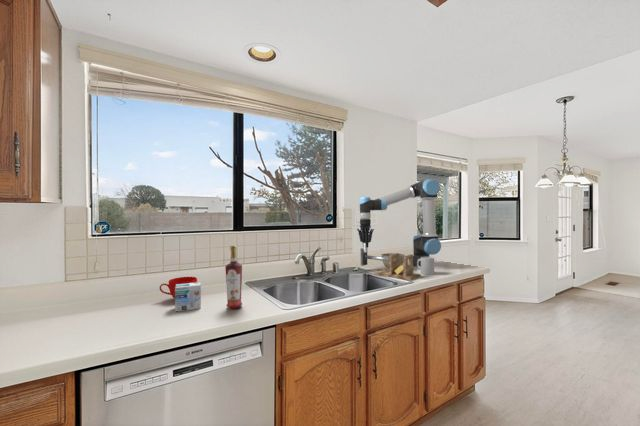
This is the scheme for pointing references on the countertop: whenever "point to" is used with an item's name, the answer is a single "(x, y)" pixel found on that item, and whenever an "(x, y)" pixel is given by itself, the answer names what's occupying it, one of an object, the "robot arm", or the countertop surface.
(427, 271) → the mug
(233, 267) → the liquor
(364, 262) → the shaft
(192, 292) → the light bulb box
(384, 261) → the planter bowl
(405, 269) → the bearing block
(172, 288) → the ceramic cup
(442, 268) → the countertop surface
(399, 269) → the collar
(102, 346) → the countertop surface
